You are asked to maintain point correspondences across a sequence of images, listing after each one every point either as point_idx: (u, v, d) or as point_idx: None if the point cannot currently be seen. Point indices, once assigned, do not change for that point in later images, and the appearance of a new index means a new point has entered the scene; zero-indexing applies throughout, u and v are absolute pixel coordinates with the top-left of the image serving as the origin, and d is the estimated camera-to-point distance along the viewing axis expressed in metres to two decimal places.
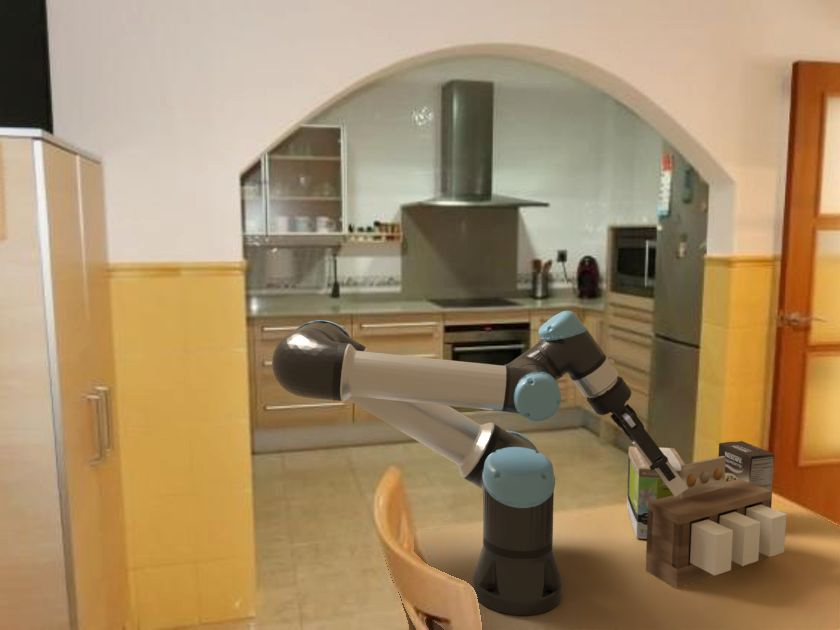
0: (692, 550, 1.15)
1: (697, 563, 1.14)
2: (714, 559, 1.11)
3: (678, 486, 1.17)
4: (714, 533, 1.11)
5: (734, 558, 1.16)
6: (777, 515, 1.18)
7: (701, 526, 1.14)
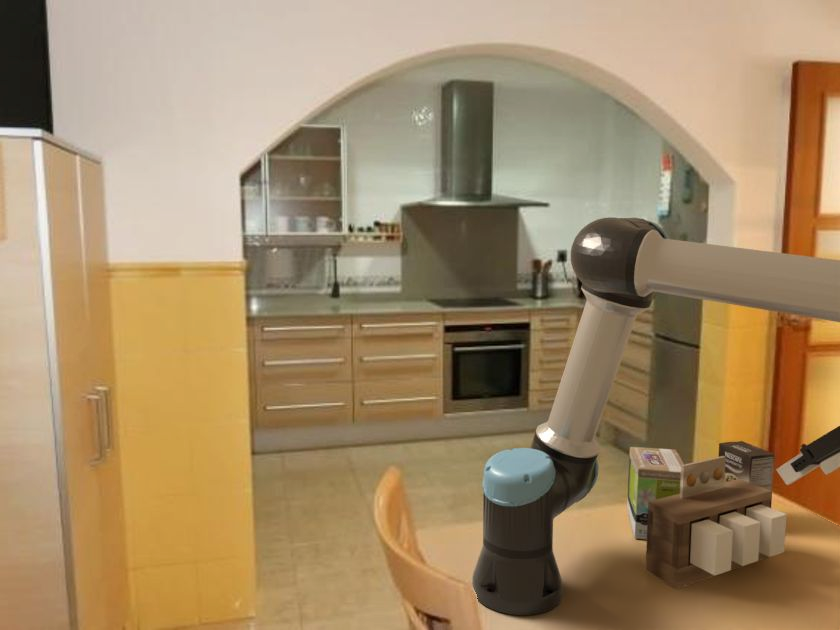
0: (692, 550, 1.15)
1: (697, 563, 1.14)
2: (714, 559, 1.11)
3: (787, 474, 1.03)
4: (714, 533, 1.11)
5: (734, 558, 1.16)
6: (777, 515, 1.18)
7: (701, 526, 1.14)
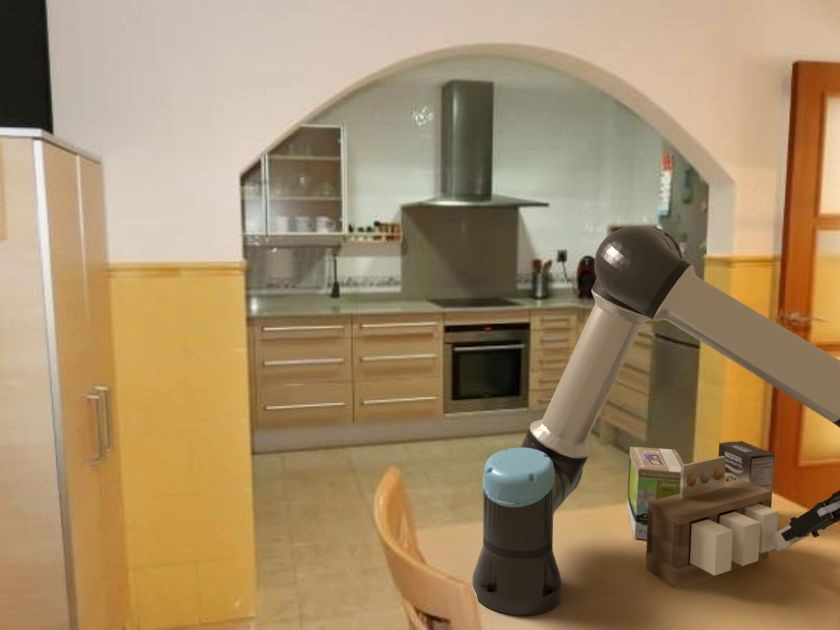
0: (692, 550, 1.15)
1: (697, 563, 1.14)
2: (714, 559, 1.11)
3: (778, 542, 1.17)
4: (714, 533, 1.11)
5: (734, 558, 1.16)
6: (769, 511, 1.20)
7: (701, 526, 1.14)
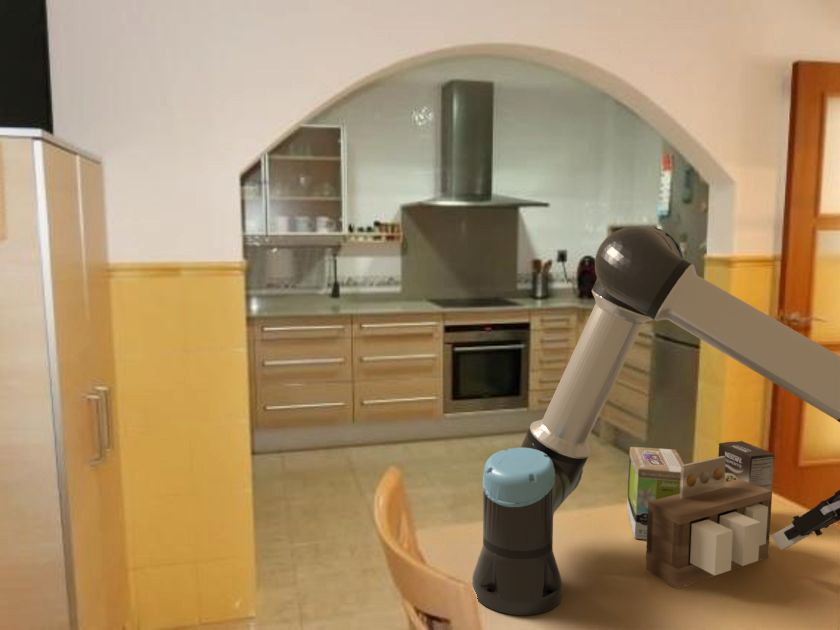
0: (692, 550, 1.15)
1: (697, 563, 1.14)
2: (714, 559, 1.11)
3: (781, 540, 1.17)
4: (714, 533, 1.11)
5: (734, 558, 1.16)
6: (759, 507, 1.21)
7: (701, 526, 1.14)
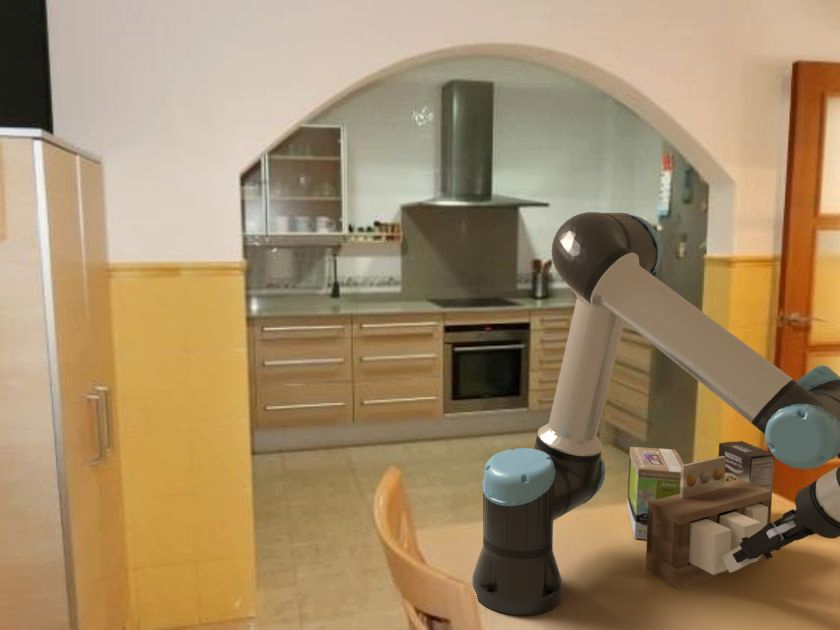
0: (691, 549, 1.15)
1: (696, 562, 1.14)
2: (713, 559, 1.11)
3: (730, 563, 1.10)
4: (713, 532, 1.11)
5: None
6: (759, 507, 1.21)
7: (700, 525, 1.14)
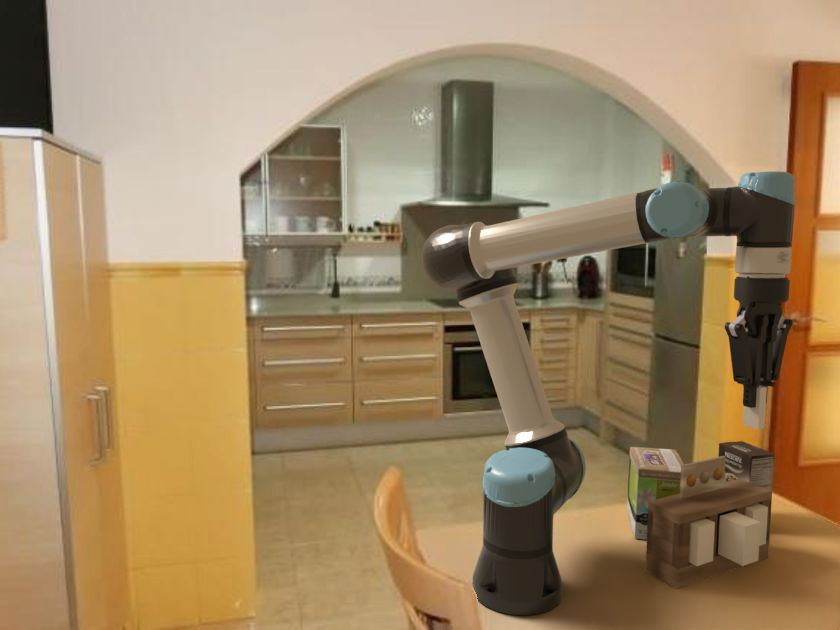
0: None
1: None
2: (697, 551, 1.14)
3: (751, 419, 1.04)
4: (696, 525, 1.14)
5: (734, 558, 1.16)
6: (759, 507, 1.21)
7: None
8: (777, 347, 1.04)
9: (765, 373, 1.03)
